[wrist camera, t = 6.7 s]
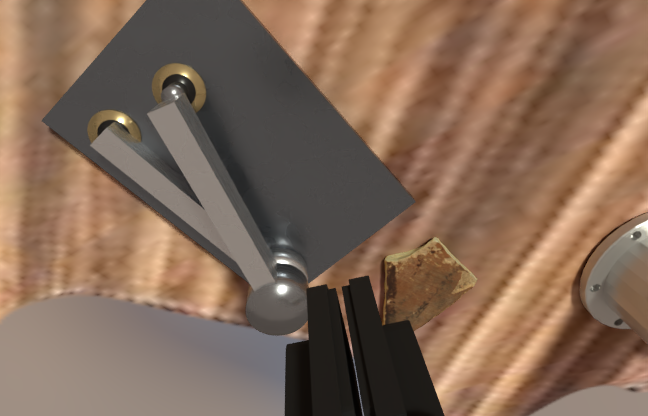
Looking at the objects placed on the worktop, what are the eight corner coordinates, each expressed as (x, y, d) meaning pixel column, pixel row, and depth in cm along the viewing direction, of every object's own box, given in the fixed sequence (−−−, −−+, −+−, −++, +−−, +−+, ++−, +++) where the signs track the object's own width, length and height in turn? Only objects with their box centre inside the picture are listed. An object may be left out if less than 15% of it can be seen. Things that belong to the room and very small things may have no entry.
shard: (380, 341, 39) (384, 356, 37) (325, 299, 36) (327, 313, 34) (474, 273, 36) (483, 286, 34) (423, 220, 33) (430, 232, 31)
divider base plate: (411, 196, 31) (422, 212, 29) (278, 298, 35) (277, 321, 32) (196, -52, 23) (186, -57, 20) (49, 116, 26) (26, 128, 24)
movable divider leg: (315, 285, 33) (319, 323, 29) (265, 303, 33) (262, 343, 29) (206, 68, 24) (191, 81, 21) (140, 96, 25) (114, 114, 21)
